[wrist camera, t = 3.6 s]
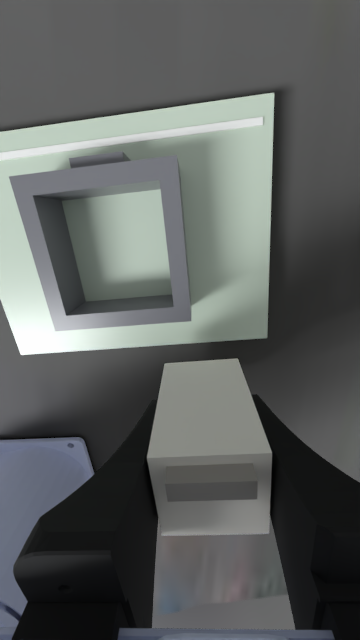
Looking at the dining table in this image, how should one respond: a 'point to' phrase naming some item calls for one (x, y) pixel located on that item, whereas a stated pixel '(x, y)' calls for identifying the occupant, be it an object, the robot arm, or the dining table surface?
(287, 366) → the dining table surface
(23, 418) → the dining table surface
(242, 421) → the plug
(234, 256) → the board
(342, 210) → the dining table surface
